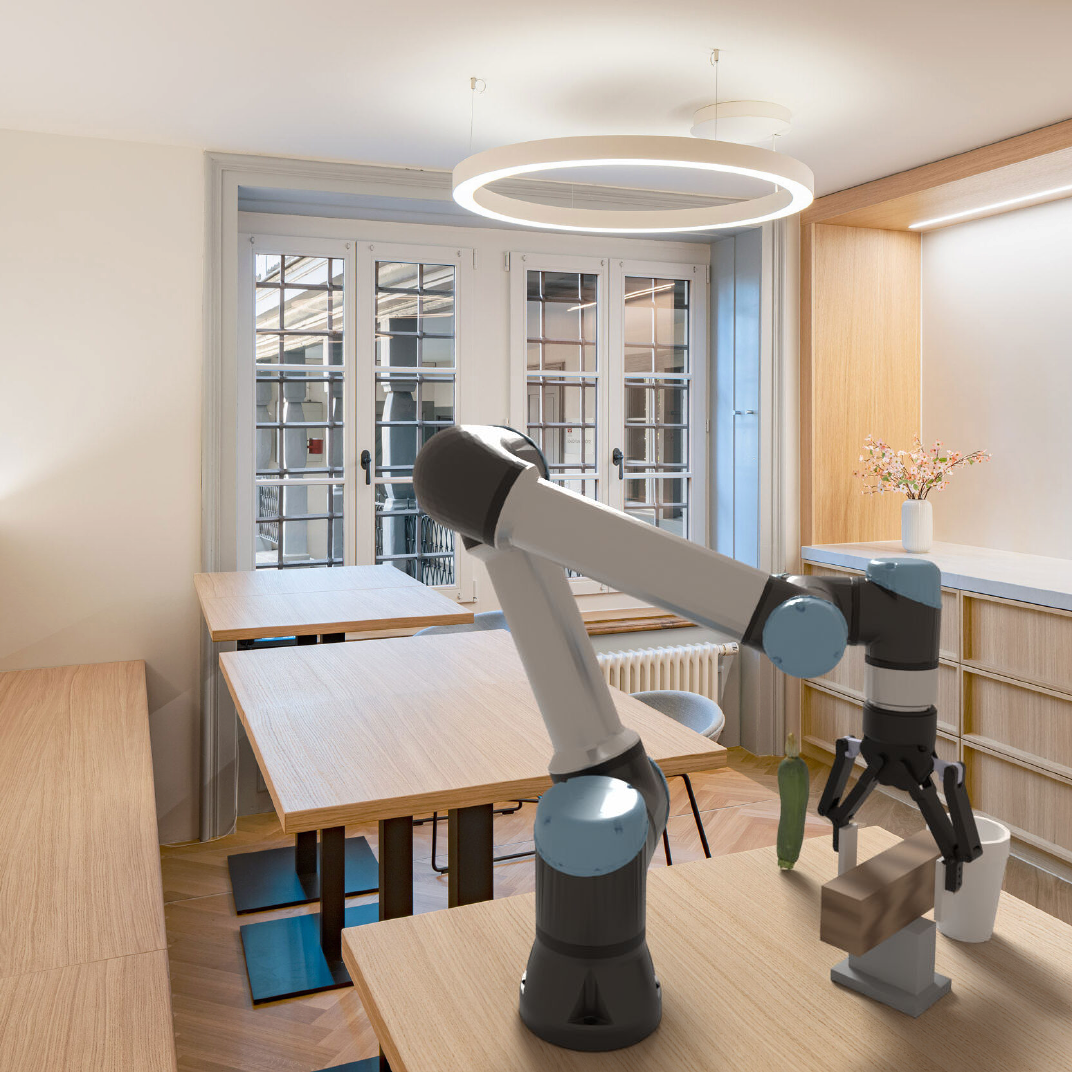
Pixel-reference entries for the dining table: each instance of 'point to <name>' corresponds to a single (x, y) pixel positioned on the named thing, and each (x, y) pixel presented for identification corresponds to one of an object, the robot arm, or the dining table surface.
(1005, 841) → the foam cup
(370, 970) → the dining table surface
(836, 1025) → the dining table surface
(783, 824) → the vegetable
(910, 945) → the grey stepped block
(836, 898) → the bar
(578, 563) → the robot arm
